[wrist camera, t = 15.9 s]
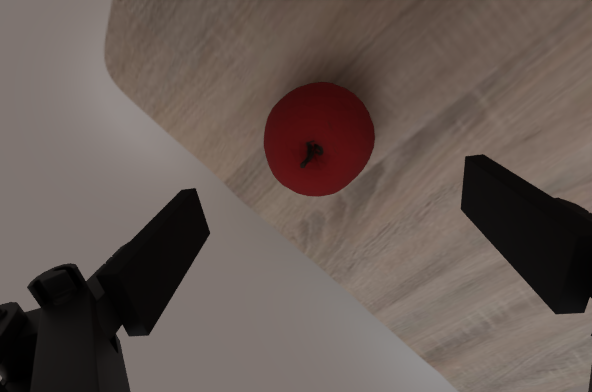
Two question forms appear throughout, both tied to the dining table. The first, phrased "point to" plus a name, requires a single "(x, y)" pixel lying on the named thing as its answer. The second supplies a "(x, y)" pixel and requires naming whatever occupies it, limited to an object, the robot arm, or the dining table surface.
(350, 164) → the apple
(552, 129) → the dining table surface
